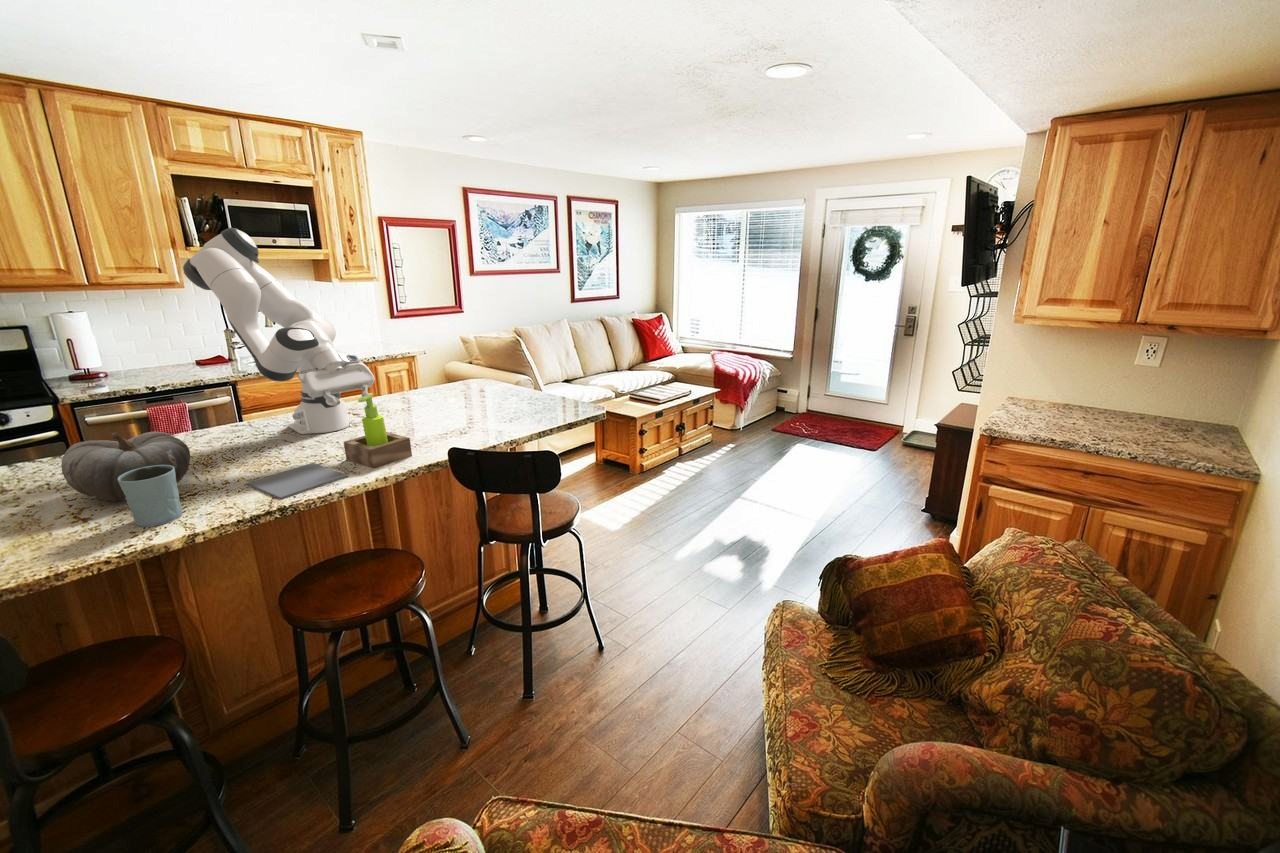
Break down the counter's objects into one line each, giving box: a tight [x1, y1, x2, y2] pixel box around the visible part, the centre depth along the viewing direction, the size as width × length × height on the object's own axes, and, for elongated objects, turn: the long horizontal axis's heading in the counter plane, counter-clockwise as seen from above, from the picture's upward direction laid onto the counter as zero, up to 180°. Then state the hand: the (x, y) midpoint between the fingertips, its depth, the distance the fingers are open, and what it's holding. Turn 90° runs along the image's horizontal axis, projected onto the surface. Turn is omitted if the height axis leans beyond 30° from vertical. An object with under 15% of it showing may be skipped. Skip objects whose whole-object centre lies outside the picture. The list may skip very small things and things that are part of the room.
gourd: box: [60, 431, 191, 502], centre depth 145 cm, size 25×25×17 cm
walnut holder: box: [343, 431, 413, 470], centre depth 170 cm, size 14×13×6 cm
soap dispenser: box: [357, 394, 388, 447], centre depth 167 cm, size 6×7×20 cm
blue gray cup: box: [118, 465, 183, 528], centre depth 130 cm, size 10×10×12 cm
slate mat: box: [246, 462, 348, 500], centre depth 154 cm, size 18×18×1 cm
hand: (352, 400), depth 169 cm, fingers open, 8 cm apart
